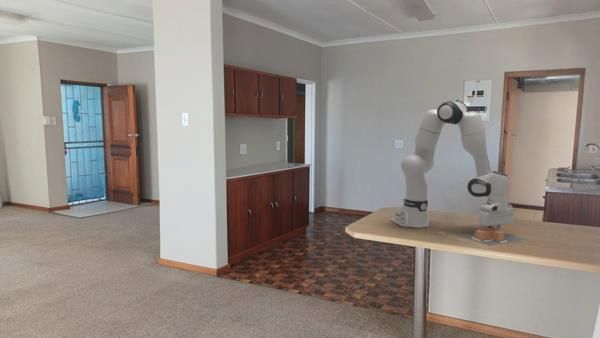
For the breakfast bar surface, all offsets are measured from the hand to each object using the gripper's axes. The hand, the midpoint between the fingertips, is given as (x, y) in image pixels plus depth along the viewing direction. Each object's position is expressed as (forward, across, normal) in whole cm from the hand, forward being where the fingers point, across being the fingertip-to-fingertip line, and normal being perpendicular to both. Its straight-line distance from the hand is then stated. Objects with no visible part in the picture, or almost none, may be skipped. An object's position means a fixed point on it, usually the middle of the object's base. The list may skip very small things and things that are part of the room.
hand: (495, 233), depth 197 cm
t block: (+2, +6, 0) cm, 6 cm away
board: (+3, +2, 0) cm, 3 cm away
